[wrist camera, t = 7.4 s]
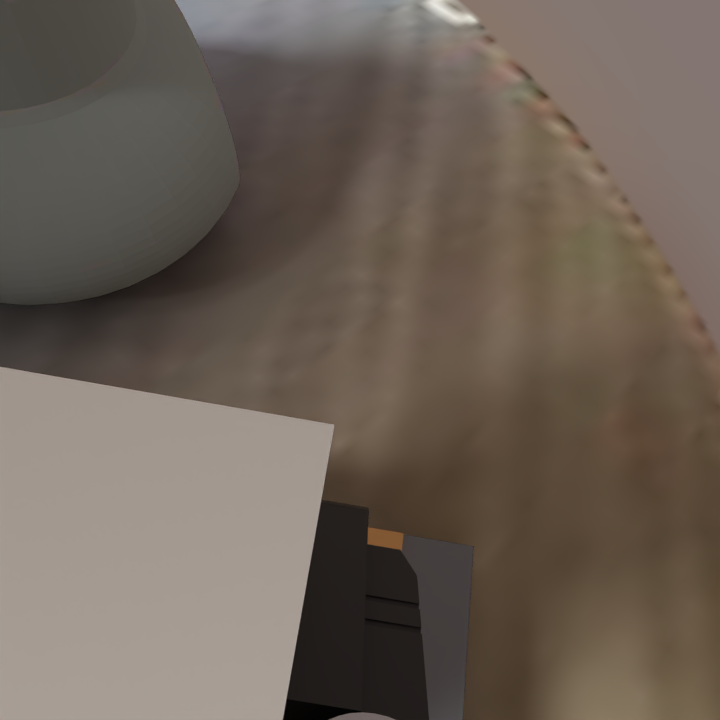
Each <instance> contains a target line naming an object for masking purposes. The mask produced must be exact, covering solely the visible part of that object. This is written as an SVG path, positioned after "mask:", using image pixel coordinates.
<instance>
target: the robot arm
mask: <svg viewBox="0 0 720 720" xmlns="http://www.w3.org/2000/svg"><path fill="white" fill-rule="evenodd" d="M368 516H369V509H368V508H366V507H360V506H355V505H349V504H343V503H337V502H331V501H325V500H321V505H320V510H319V516H318V522H317V527H316V533H315V539H314V545H313V550H312V556H311V562H310V567H309V573H308V579H307V584H306V590H305V596H304V602H303V607H302V613H301V619H300V624H299V630H298V636H297V642H296V647H295V653H294V659H293V664H292V670H291V676H290V682H289V687H288V693H287V699H286V704H285V710H284V716H283V720H429V712H428V700H427V688H426V676H425V664H424V652H423V640H422V634H421V616H420V609H419V592H418V580H417V575H416V573H415V572H414V570H413V568H412V567H411V565H410V564H409V562H408V561H407V559H406V558H405V556H404V555H403V553H402V552H401V550H399V549H393V548H387V547H381V546H375V545H370V544H367V543H368Z"/></svg>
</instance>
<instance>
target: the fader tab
mask: <svg viewBox="0 0 720 720" xmlns="http://www.w3.org/2000/svg"><path fill="white" fill-rule="evenodd" d="M333 430H334V425H333V424H327V423H321V422H316V421H310V420H304V419H298V418H293V417H287V416H281V415H275V414H270V413H264V412H258V411H252V410H246V409H241V408H235V407H229V406H223V405H218V404H212V403H206V402H200V401H195V400H189V399H183V398H177V397H171V396H166V395H160V394H154V393H148V392H143V391H137V390H131V389H125V388H120V387H114V386H108V385H102V384H96V383H91V382H85V381H79V380H73V379H68V378H62V377H56V376H50V375H45V374H39V373H33V372H27V371H22V370H16V369H10V368H4V367H0V720H283V716H284V710H285V704H286V699H287V693H288V687H289V682H290V676H291V670H292V664H293V659H294V653H295V647H296V642H297V636H298V630H299V624H300V619H301V613H302V607H303V602H304V596H305V590H306V584H307V579H308V573H309V567H310V562H311V556H312V550H313V545H314V539H315V533H316V527H317V522H318V516H319V510H320V505H321V499H322V493H323V487H324V482H325V476H326V470H327V465H328V459H329V453H330V447H331V442H332V436H333Z"/></svg>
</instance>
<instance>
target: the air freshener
mask: <svg viewBox="0 0 720 720" xmlns="http://www.w3.org/2000/svg"><path fill="white" fill-rule="evenodd" d="M239 183H240V172H239V164H238V159H237V154H236V149H235V145H234V141H233V137H232V134H231V131H230V127H229V124H228V121H227V118H226V115H225V112H224V109H223V106H222V103H221V101H220V98H219V95H218V92H217V90H216V87H215V84H214V82H213V79H212V77H211V74H210V72H209V70H208V67H207V65H206V62H205V60H204V57H203V55H202V53H201V51H200V49H199V46H198V44H197V42H196V40H195V38H194V36H193V33H192V31H191V29H190V27H189V26H188V24H187V22H186V20H185V18H184V16H183V14H182V12H181V10H180V9H179V7H178V5H177V4H176V2H175V0H0V303H6V304H19V305H38V304H56V303H67V302H72V301H78V300H83V299H88V298H93V297H99V296H102V295H105V294H108V293H111V292H114V291H117V290H120V289H123V288H126V287H129V286H131V285H133V284H136V283H138V282H140V281H142V280H144V279H146V278H148V277H150V276H152V275H154V274H156V273H158V272H160V271H161V270H163V269H164V268H166V267H167V266H169V265H170V264H172V263H173V262H175V261H176V260H178V259H179V258H181V257H182V256H184V255H185V254H186V253H187V252H189V251H190V250H191V249H192V248H193V247H194V246H195V245H196V244H197V243H198V242H199V241H200V240H201V239H203V238H204V237H205V236H206V235H207V234H208V233H209V231H210V230H211V229H212V228H213V226H214V225H215V224H216V222H217V221H218V220H219V218H220V217H221V216H222V215H223V213H224V212H225V211H226V209H227V208H228V206H229V204H230V202H231V200H232V198H233V196H234V194H235V192H236V190H237V188H238V186H239Z"/></svg>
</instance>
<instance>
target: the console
mask: <svg viewBox="0 0 720 720" xmlns="http://www.w3.org/2000/svg"><path fill="white" fill-rule="evenodd" d="M367 544H370V545H375V546H381V547H387V548H393V549H399V550H401V552H402V553H403V555H404V556H405V558H406V559H407V561H408V562H409V564H410V565H411V567H412V568H413V570H414V572H415V573H416V575H417V580H418V592H419V609H420V616H421V634H422V640H423V652H424V664H425V676H426V688H427V700H428V712H429V720H463V708H464V692H465V677H466V661H467V645H468V629H469V613H470V598H471V582H472V566H473V550H474V546H469V545H463V544H457V543H451V542H445V541H439V540H433V539H427V538H422V537H416V536H410V535H404V533H399V532H393V531H387V530H381V529H375V528H370V527H368V543H367Z"/></svg>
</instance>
